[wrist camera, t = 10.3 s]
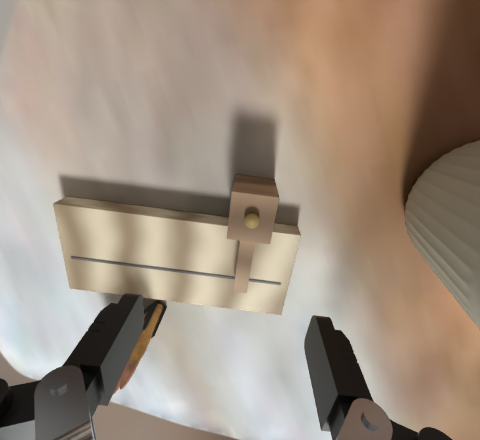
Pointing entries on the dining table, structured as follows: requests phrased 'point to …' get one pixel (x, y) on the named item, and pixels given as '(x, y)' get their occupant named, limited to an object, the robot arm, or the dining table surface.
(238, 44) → the dining table surface
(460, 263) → the canister
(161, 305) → the ammunition clip
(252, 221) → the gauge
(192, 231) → the board
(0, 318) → the dining table surface
